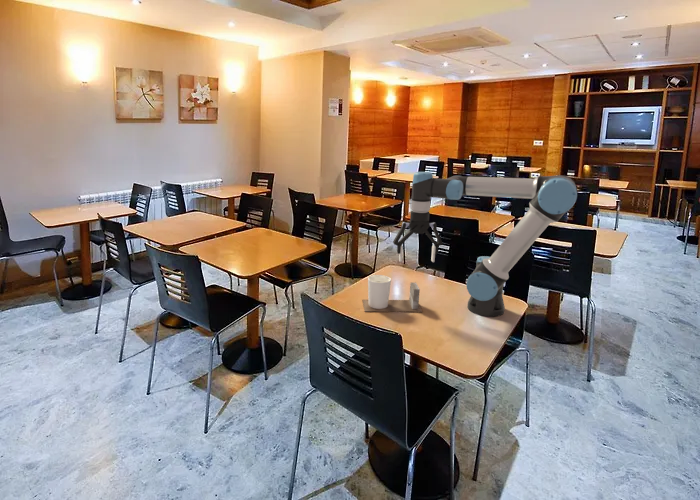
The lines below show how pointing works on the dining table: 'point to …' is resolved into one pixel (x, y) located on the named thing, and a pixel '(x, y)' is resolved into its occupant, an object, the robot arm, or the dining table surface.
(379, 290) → the candle holder
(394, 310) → the board
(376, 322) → the dining table surface
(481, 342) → the dining table surface
